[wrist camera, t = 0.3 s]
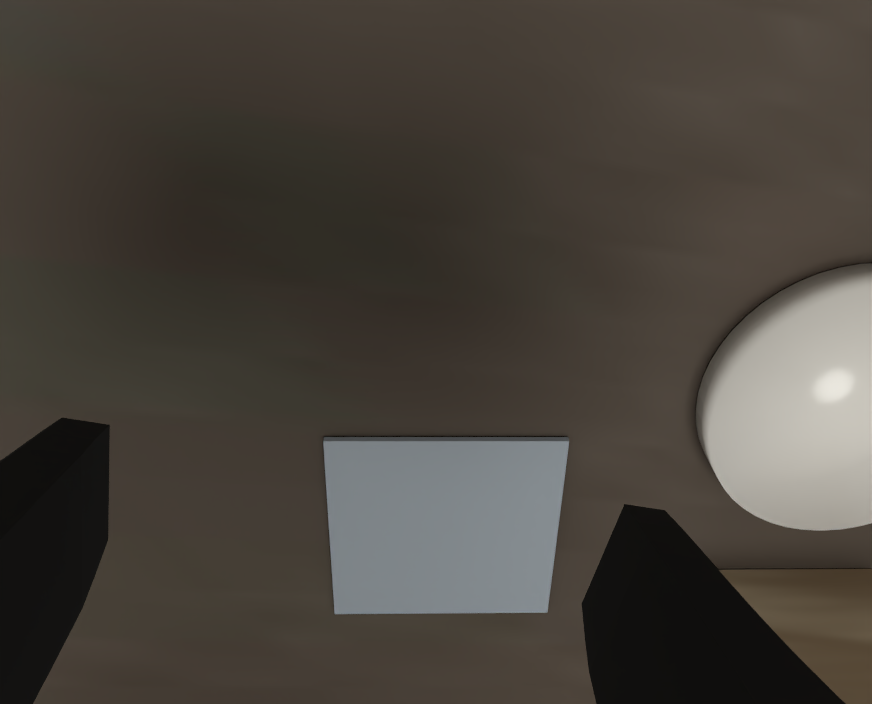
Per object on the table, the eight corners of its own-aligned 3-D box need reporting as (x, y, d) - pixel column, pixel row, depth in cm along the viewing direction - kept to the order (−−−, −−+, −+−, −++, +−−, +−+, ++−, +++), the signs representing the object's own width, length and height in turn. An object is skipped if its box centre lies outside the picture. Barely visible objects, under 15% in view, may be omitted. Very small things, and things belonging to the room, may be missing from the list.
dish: (930, 502, 24) (953, 529, 23) (673, 503, 24) (685, 531, 23) (1034, 263, 20) (1067, 283, 19) (727, 261, 20) (744, 281, 19)
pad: (546, 607, 26) (547, 612, 26) (335, 609, 26) (334, 613, 26) (567, 436, 23) (569, 441, 22) (323, 437, 22) (323, 441, 22)
